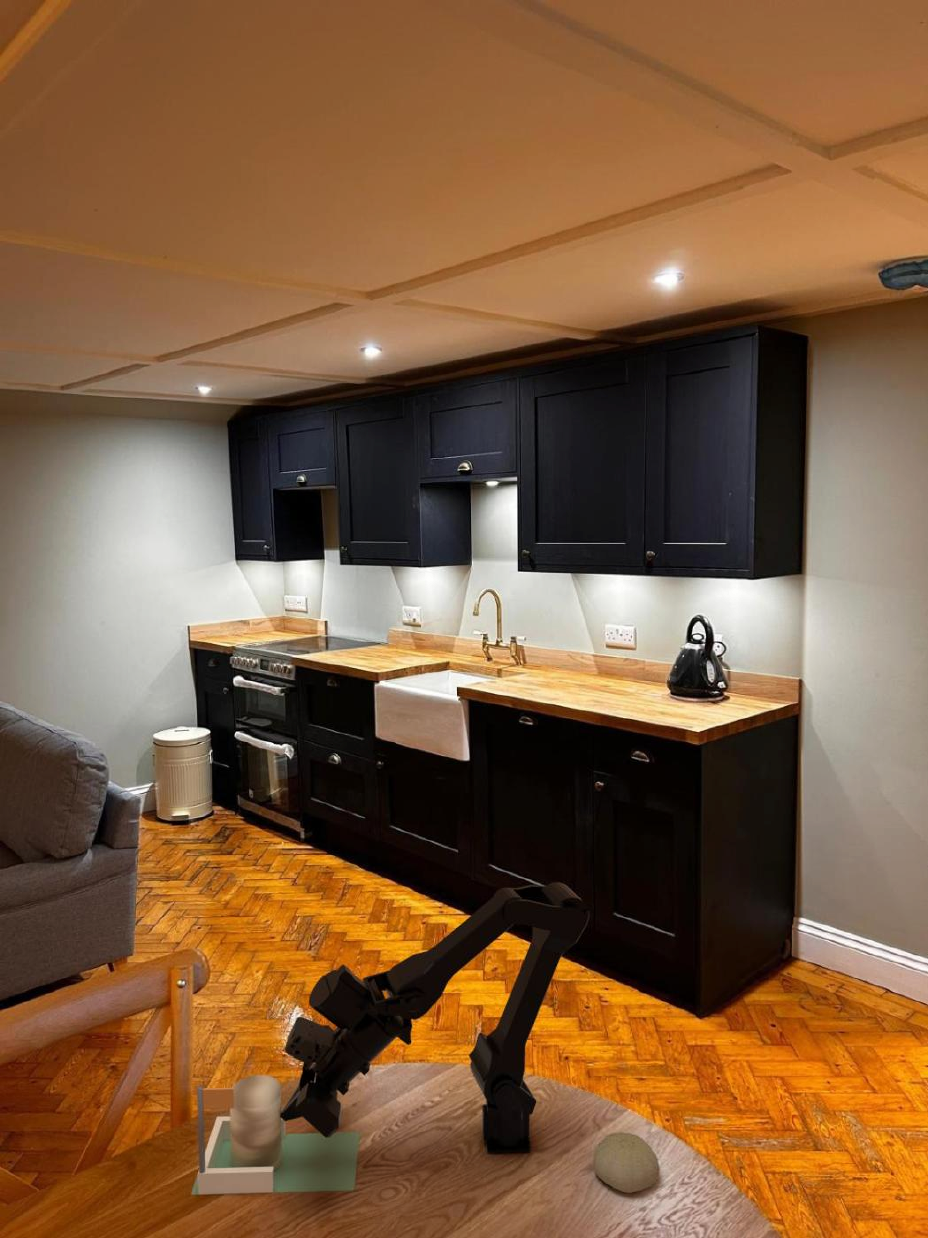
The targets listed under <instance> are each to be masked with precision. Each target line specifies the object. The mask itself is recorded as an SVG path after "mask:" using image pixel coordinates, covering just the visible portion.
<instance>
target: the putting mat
mask: <svg viewBox="0 0 928 1238" xmlns="http://www.w3.org/2000/svg"><path fill="white" fill-rule="evenodd" d="M360 1135H361V1131H355V1132H354V1131H353V1132H352V1131H351V1132H348V1131H347V1132H334V1133H333V1134H332V1135H331V1136H330V1137H329V1138H326V1137H324V1136H323V1135H322V1134H321V1133H320V1132H318V1133H317V1132H314V1133H308V1132H307V1133H286V1134H285V1138H283V1139H281V1140H282V1162H281V1165H280V1167H279V1168H278V1169H277V1171H275V1172H274V1189H273V1192H267V1193H266V1194H274V1193H309V1192H311V1193H312V1192H343V1191H346V1192H347V1191H355V1184H356V1175H357V1165H358V1164H357V1163H358V1154H359V1145H360ZM214 1168H231V1140H223V1141H222V1145H221V1148H220V1151H219V1154H218V1157H217V1160H216V1163H215V1167H214ZM234 1194H235V1195H237V1194H238V1195H240V1194H245V1193H231V1194H230V1195H234ZM190 1195H191V1196H197V1195H198V1196H200V1195H203V1196H204V1195H205V1196H206V1195H209V1194H198V1174H197V1175H196V1177H195V1181H194V1184H193V1187H192V1189H191V1193H190Z"/></svg>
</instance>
